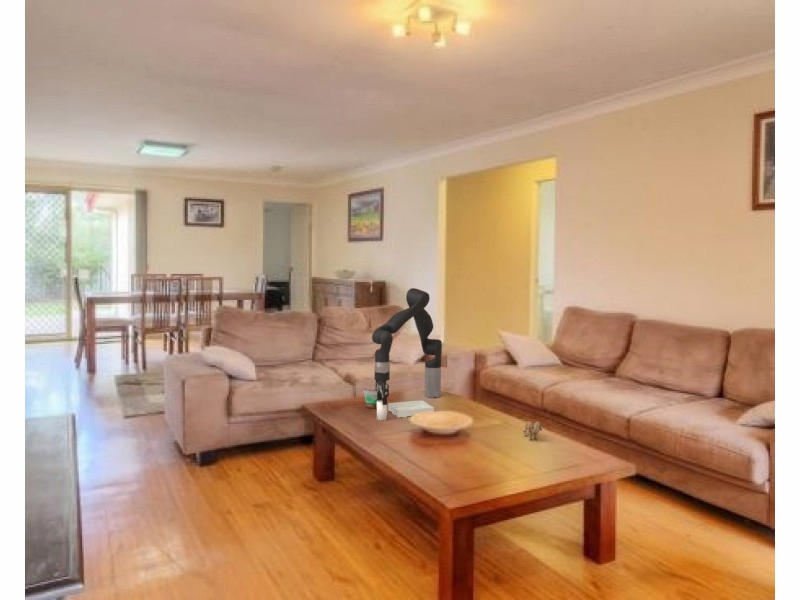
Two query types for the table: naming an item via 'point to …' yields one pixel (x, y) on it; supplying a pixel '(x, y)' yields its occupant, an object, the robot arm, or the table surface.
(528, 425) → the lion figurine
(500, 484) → the table surface
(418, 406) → the tray
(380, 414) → the cup
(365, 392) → the food container
